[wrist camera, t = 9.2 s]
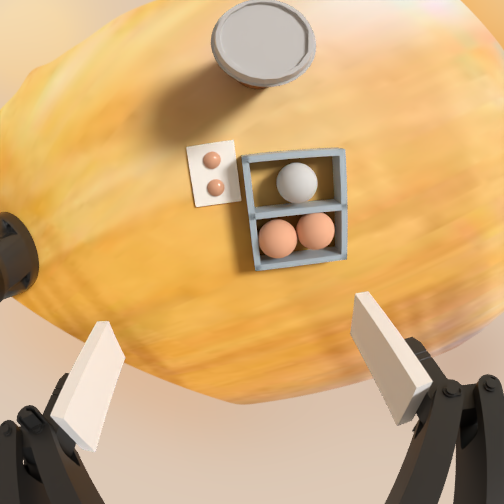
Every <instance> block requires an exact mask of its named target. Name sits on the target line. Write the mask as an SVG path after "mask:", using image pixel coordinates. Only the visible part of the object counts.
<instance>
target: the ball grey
mask: <svg viewBox="0 0 504 504" xmlns="http://www.w3.org/2000/svg"><path fill="white" fill-rule="evenodd" d="M276 184H277V189H278V191H279V193H280V195H281V196H282V197H283V198H284V199H285V200H287V201H289V202H292V203H303V202H306V201H308V200H309V199H310V198H311V197H312V196H313V195H314V194H315V192H316V189H317V177H316V175H315V173H314V171H313V170H312V169H311V168H310V167H309V166H307V165H305V164H302V163H291V164H288V165H286V166H285V167H283V168H282V169H281V171H280V172H279V174H278V176H277V181H276Z"/></svg>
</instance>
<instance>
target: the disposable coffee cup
mask: <svg viewBox="0 0 504 504" xmlns="http://www.w3.org/2000/svg"><path fill="white" fill-rule="evenodd" d="M211 47H212V52H213V55H214V57H215V59H216V61H217V63H218V64H219V66H220V67H221V68H222V69H223V70H224V71H225V72H226V73H227V74H228V75H230V76H231V77H233V78H235V79H236V80H238V81H239V82H240V83H241V84H242V85H244V86H246V87H249V88H255V89H261V88H265V87H274V86H280V85H283V84H286V83H289V82H291V81H293V80H295V79H297V78H298V77H299V76H301V75H302V74H303V73H305V71H306V70H307V69H308V68H309V67H310V65H311V63H312V61H313V59H314V56H315V52H316V40H315V35H314V32H313V30H312V28H311V26H310V24H309V22H308V21H307V20H306V18H305V17H304V16H303V15H302V14H301V13H300V12H299V11H297V10H296V9H295V8H293V7H292V6H290V5H288V4H286V3H283V2H280V1H276V0H249V1H246V2H242V3H240V4H238V5H236V6H234V7H233V8H231V9H230V10H228V11H227V12H226V13H224V14H223V15H222V16H221V18H220V19H219V20H218V21H217V23H216V25H215V27H214V29H213V32H212V36H211Z"/></svg>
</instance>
